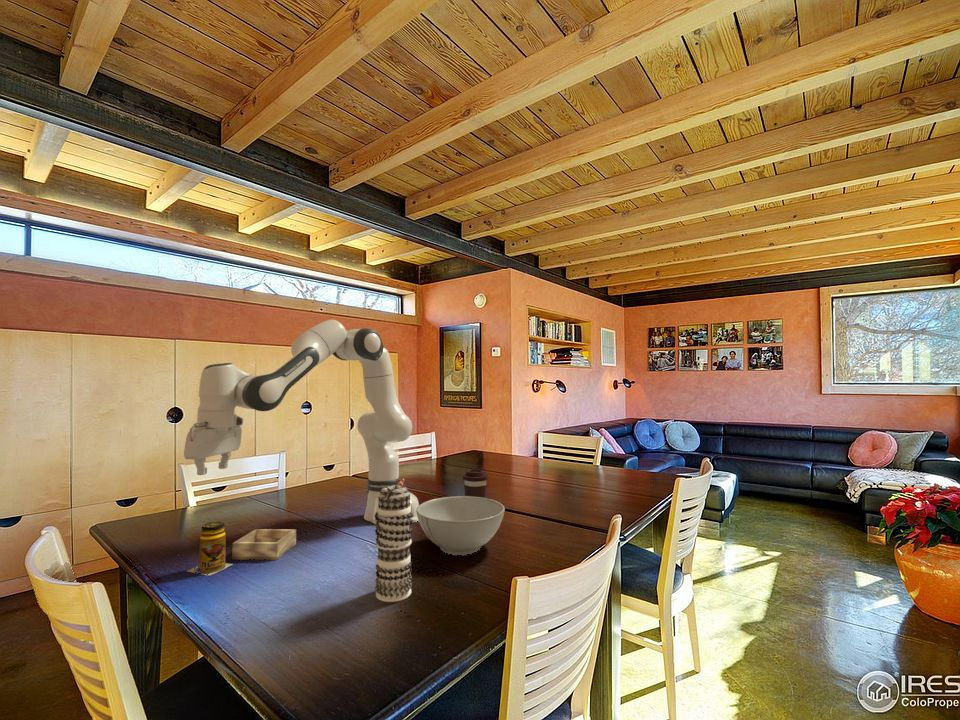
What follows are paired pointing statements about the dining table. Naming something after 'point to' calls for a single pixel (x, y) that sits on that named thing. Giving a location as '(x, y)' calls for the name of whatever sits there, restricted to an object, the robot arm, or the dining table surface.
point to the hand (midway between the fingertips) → (212, 471)
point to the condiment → (212, 549)
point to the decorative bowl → (460, 522)
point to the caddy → (264, 544)
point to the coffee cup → (475, 483)
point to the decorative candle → (393, 544)
